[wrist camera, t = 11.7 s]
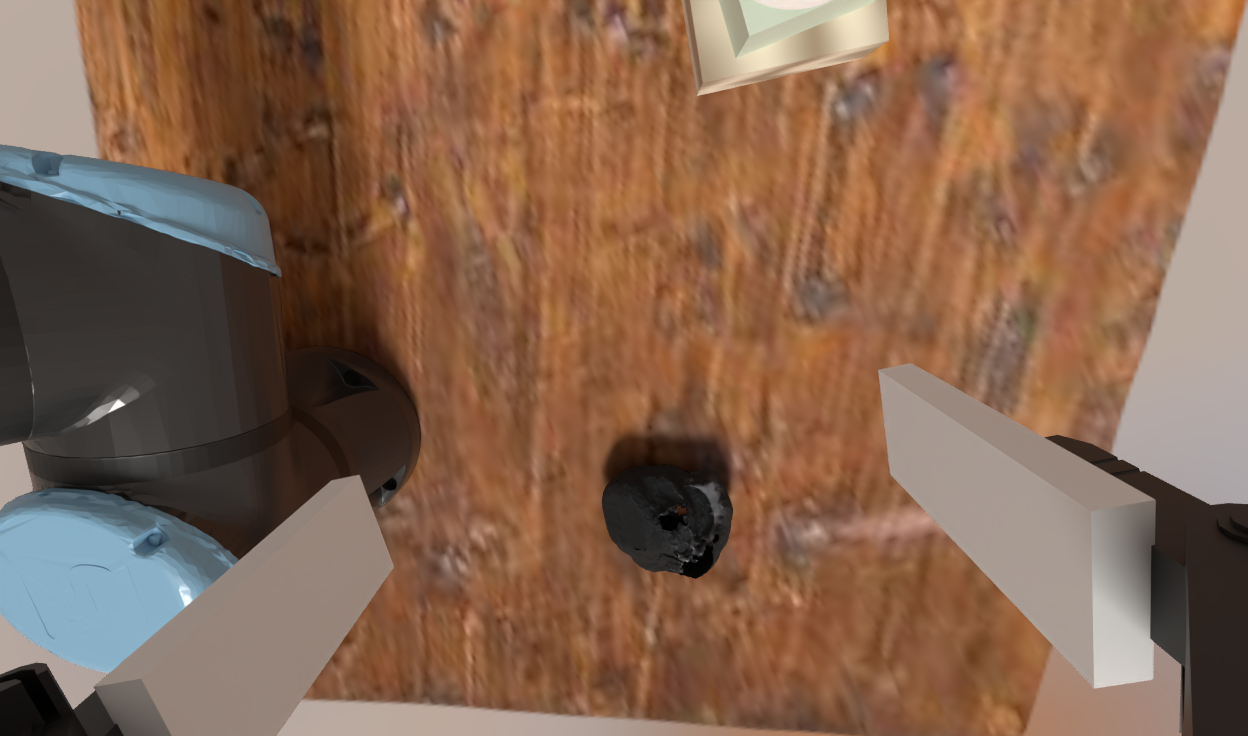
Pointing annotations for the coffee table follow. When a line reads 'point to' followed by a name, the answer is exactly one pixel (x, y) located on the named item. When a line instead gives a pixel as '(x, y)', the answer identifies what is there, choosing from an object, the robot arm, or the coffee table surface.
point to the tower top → (776, 21)
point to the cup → (792, 3)
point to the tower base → (777, 46)
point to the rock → (669, 517)
